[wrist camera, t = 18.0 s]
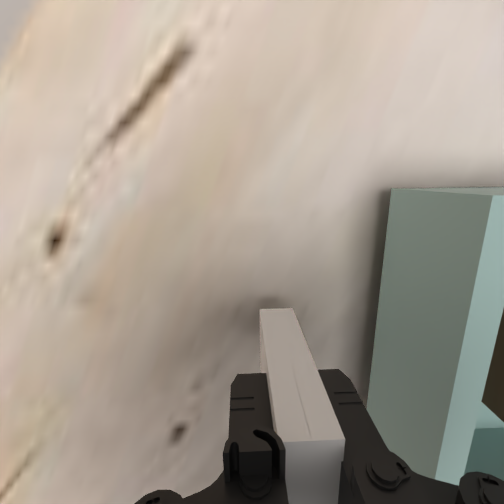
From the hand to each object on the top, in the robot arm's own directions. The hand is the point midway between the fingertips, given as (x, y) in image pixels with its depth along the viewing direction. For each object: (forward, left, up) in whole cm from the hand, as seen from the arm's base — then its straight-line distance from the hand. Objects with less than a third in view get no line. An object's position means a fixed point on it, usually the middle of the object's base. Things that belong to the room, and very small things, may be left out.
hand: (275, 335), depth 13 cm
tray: (+16, 0, -2) cm, 16 cm away
